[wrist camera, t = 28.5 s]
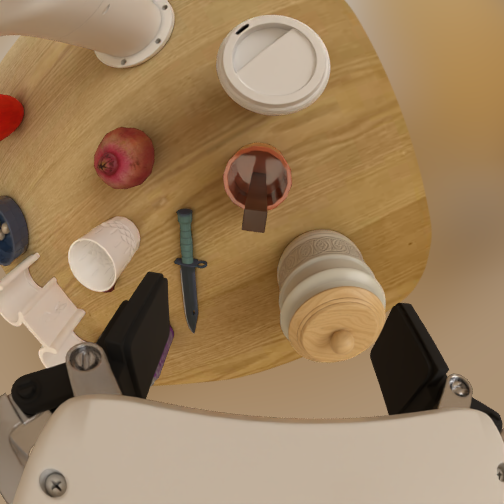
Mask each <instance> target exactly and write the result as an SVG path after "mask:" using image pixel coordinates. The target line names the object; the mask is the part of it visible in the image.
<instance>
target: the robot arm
mask: <svg viewBox="0 0 504 504" xmlns="http://www.w3.org/2000/svg"><path fill="white" fill-rule="evenodd" d="M165 9H166V10H165ZM174 19H175V17H174V11H173V9H172V6H171V5H170V4H169V2H168V1H167V0H0V36H4V35H23V36H32V37H39V38H44V39H49V40H54V41H58V42H63V43H67V44H71V45H75V46H79V47H83V48H87V49H91V50H94V52H95V54H96V56H97V58H98V59H99V60H100V61H101V62H102V63H104V64H106V65H108V66H111V67H115V68H129V67H133V66H137V65H139V64H141V63H144V62H145V61H147V60H149V59H150V58H152V57H153V56H154V55H155V54H157V53H158V52H159V51H160V50H161V48H162V47H163V46H164V45H165V43H166V42H167V41H168V39H169V37H170V35H171V33H172V30H173V27H174ZM160 41H161V42H160ZM159 42H160V43H159ZM125 62H126V64H125ZM169 334H170V323H169V305H168V281H167V278H163V274H161V273H155V272H148V273H147V274H146V276H145V277H144V278H143V280H142V281H141V283H140V284H139V286H138V287H137V289H136V290H135V292H134V293H133V295H132V296H131V298H130V300H129V301H128V300H125V301H123V302H122V304H121V305H120V307H119V308H118V310H117V311H116V313H115V314H114V316H113V317H112V319H111V320H110V322H109V323H108V325H107V326H106V328H105V330H104V331H103V333H102V334H101V336H100V338H99V339H98V341H97V342H96V344H95V343H93V342H82V343H79V344H76V345H74V346H73V347H72V348H70V350H69V351H68V352H67V354H66V357H65V359H66V362H65V363H62V364H59V365H56V366H53V367H49V368H46V369H43V370H40V371H37V372H33V373H30V374H27V375H24V376H22V377H20V378H19V379H17V380H16V381H15V383H14V384H13V387H12V390H11V394H9V395H8V396H7V394H6V393H4V394H3V395H1V396H0V493H1V495H2V496H3V498H4V499H5V501H6V503H7V504H504V428H503V429H502V420H501V417H500V415H499V414H498V413H497V412H495V411H494V410H492V409H490V408H489V407H487V406H486V405H484V404H482V403H481V402H479V401H477V400H476V399H474V398H473V397H472V394H473V391H472V390H473V389H472V386H471V384H470V382H469V381H468V380H467V379H466V378H465V377H463V376H462V375H459V374H451V375H449V376H448V377H447V375H446V373H447V372H448V370H449V368H448V366H447V364H446V363H445V361H444V359H443V357H442V355H441V354H440V352H439V350H438V348H437V347H436V345H435V343H434V341H433V340H432V338H431V336H430V334H429V333H428V332H427V329H426V328H425V326H424V324H423V323H422V321H421V320H420V318H419V316H418V315H417V313H416V312H415V310H414V308H413V307H412V305H411V304H407V303H397V304H396V306H394V307H393V308H392V309H391V312H390V314H389V316H388V318H387V320H386V322H385V324H384V326H383V328H382V331H381V333H380V335H379V337H378V338H377V340H376V342H375V345H374V346H373V348H372V350H371V353H370V358H371V361H372V364H373V367H374V370H375V373H376V376H377V379H378V382H379V384H380V388H381V391H382V394H383V397H384V400H385V404H386V407H387V410H388V413H389V415H388V416H376V417H362V418H342V419H340V418H339V419H298V418H276V417H261V416H248V415H240V414H231V413H223V412H216V411H209V410H202V409H196V408H190V407H184V406H178V405H173V404H168V403H163V402H158V401H153V400H147V399H146V397H147V394H148V391H149V388H150V386H151V383H152V380H153V377H154V375H155V372H156V369H157V367H158V364H159V361H160V359H161V356H162V353H163V351H164V348H165V346H166V343H167V341H168V338H169ZM33 446H34V447H33ZM32 447H33V449H32V451H31V454H30V456H29V453H30V450H31V448H32Z"/></svg>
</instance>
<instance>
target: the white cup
mask: <svg viewBox="0 0 504 504" xmlns="http://www.w3.org/2000/svg"><path fill="white" fill-rule="evenodd" d="M139 244H140V235H139V231H138V229H137V227H136V226H135V225H134V223H133V222H132V221H130V220H129V219H127V218H126V217H120V216H116V217H113V218H111V219H109V220H107V221H106V222H103V223H102V224H100V225H98V226H97V227H95V228H93V229H92V230H90V231H89V232H88V233H86V234H85V235H83V236H82V237H80V238H79V239H77V240H76V241H75V242H73V243H72V245H71V246H70V248H69V252H68V261H69V265H70V268H71V271H72V273H73V274H74V276H75V277H76V279H77V280H78V281H79V282H80V283H81V284H82V285H84V286H85V287H87V288H88V289H90V290H93V291H97V292H103V291H107V290H109V289H110V288H111V287H112V286H113V285H114V284H115V282H116V281H117V279H118V278H119V276H120V275H121V273H122V272H123V271H124V269H125V268H126V266H127V265H128V263H129V262H130V260H131V259H132V257H133V255H134V253H135V252H136V251H137V249H138V248H139Z"/></svg>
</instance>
